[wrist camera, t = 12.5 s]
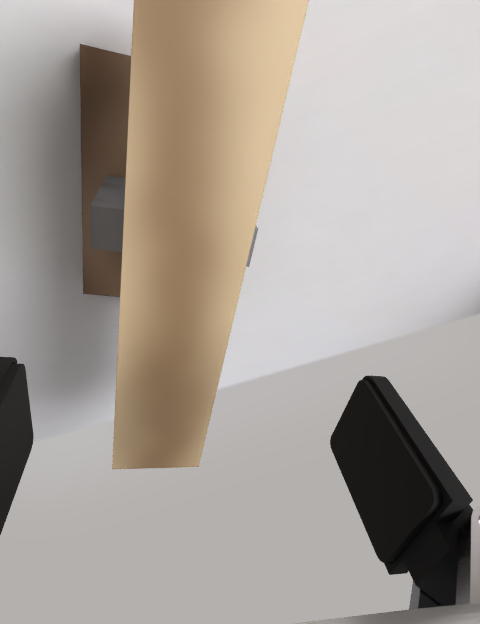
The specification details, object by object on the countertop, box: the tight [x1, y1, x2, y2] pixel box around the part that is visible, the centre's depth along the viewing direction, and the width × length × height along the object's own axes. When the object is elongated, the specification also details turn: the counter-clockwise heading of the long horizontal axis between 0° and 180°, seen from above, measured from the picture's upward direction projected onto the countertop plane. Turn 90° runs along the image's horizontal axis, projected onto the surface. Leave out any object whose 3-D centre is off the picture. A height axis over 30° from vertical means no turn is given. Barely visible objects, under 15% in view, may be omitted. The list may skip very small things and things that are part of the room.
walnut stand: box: [80, 44, 258, 297], centre depth 24 cm, size 12×16×8 cm
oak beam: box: [112, 0, 309, 469], centre depth 18 cm, size 5×24×6 cm, turn 168°
